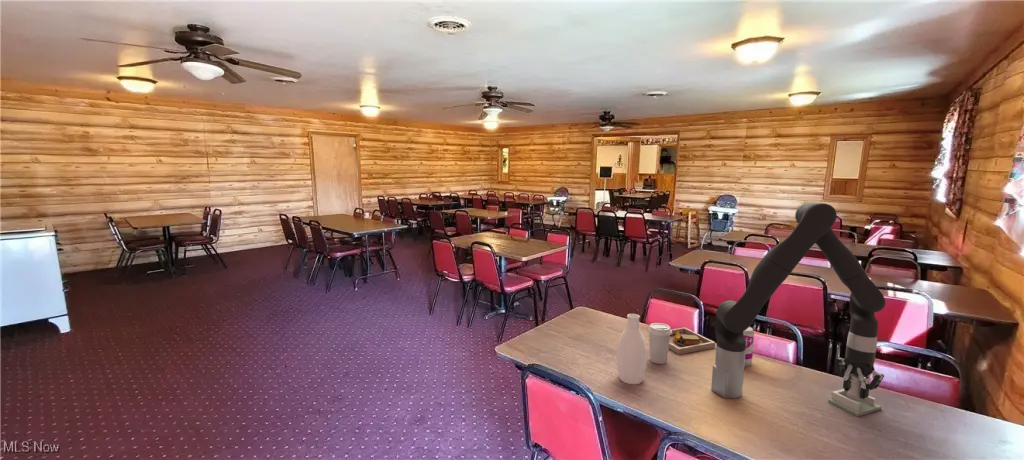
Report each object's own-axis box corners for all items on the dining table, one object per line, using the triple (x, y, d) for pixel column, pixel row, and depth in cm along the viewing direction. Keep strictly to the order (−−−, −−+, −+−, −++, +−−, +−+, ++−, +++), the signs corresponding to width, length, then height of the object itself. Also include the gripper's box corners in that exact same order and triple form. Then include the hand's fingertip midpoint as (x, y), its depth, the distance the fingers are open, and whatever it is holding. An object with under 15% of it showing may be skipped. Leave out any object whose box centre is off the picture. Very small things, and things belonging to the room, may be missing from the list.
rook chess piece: (842, 394, 143) (845, 372, 142) (854, 393, 143) (857, 372, 142) (854, 401, 138) (857, 379, 137) (866, 401, 139) (869, 378, 138)
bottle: (651, 378, 160) (654, 315, 157) (637, 389, 152) (640, 323, 148) (624, 369, 168) (626, 308, 164) (610, 379, 160) (612, 315, 156)
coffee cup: (645, 363, 172) (647, 329, 170) (647, 353, 181) (648, 321, 179) (670, 367, 169) (672, 332, 167) (670, 357, 178) (672, 324, 175)
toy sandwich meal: (701, 339, 196) (701, 330, 196) (703, 351, 184) (704, 341, 183) (673, 336, 201) (673, 326, 200) (673, 347, 188) (673, 337, 188)
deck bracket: (857, 416, 135) (858, 406, 134) (828, 402, 143) (829, 392, 143) (880, 409, 139) (882, 399, 138) (851, 395, 147) (852, 386, 147)
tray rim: (678, 354, 180) (679, 349, 180) (650, 337, 198) (650, 332, 198) (714, 347, 187) (715, 342, 187) (684, 332, 205) (684, 327, 204)
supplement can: (754, 367, 168) (757, 332, 166) (732, 365, 170) (735, 330, 168) (747, 358, 176) (750, 324, 174) (726, 356, 178) (729, 323, 176)
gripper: (830, 339, 143) (825, 386, 146) (878, 357, 130) (871, 407, 133) (845, 336, 146) (840, 382, 148) (894, 353, 133) (886, 403, 135)
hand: (855, 394), depth 141 cm, fingers closed on rook chess piece, 4 cm apart
